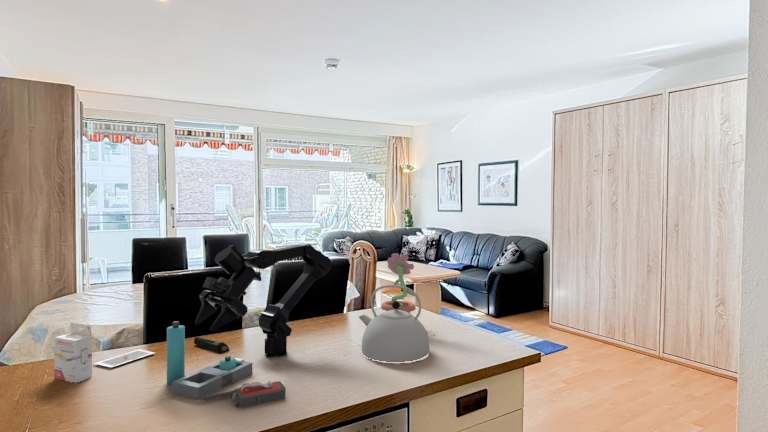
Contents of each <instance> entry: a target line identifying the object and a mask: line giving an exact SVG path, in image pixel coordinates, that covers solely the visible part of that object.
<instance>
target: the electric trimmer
mask: <svg viewBox="0 0 768 432" xmlns="http://www.w3.org/2000/svg"><path fill="white" fill-rule="evenodd" d="M193 340H194V341H193V344H195V345H196V346H198V347H199V348H200V347H201V348H203V349H204V350H205V349H210V350H213V351H216V352H218V354H224V353H227V352H228V353H229V352H230V348H229V346H228V345H227V344H226V343H225V342H223V341H221V342H218V341H215V340H211V339H207V338H203V337H198V336H195V337H194V338H193Z"/></svg>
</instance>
